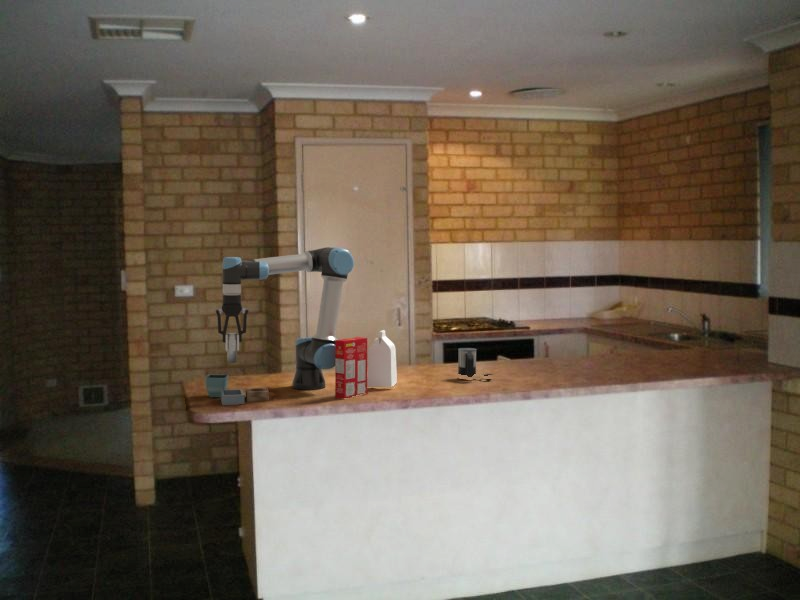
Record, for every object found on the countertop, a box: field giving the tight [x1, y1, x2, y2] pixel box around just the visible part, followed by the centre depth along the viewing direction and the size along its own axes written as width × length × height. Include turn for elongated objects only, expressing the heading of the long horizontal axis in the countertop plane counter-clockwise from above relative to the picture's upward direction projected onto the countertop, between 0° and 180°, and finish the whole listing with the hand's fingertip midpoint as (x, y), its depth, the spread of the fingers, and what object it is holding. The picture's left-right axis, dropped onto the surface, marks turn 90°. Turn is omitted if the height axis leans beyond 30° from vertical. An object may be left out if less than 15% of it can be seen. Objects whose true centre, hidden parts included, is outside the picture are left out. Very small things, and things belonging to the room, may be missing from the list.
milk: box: [367, 329, 398, 387], centre depth 390 cm, size 12×12×26 cm
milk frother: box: [457, 347, 494, 377], centre depth 411 cm, size 14×16×15 cm
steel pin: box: [226, 332, 238, 364], centre depth 353 cm, size 4×4×12 cm
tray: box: [220, 388, 245, 406], centre depth 355 cm, size 9×13×4 cm
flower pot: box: [204, 374, 229, 399], centre depth 366 cm, size 9×9×9 cm
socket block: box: [245, 387, 270, 403], centre depth 361 cm, size 9×9×4 cm
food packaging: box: [334, 336, 368, 399], centre depth 368 cm, size 15×5×25 cm, turn 141°
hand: (232, 350), depth 354 cm, fingers closed on steel pin, 4 cm apart
